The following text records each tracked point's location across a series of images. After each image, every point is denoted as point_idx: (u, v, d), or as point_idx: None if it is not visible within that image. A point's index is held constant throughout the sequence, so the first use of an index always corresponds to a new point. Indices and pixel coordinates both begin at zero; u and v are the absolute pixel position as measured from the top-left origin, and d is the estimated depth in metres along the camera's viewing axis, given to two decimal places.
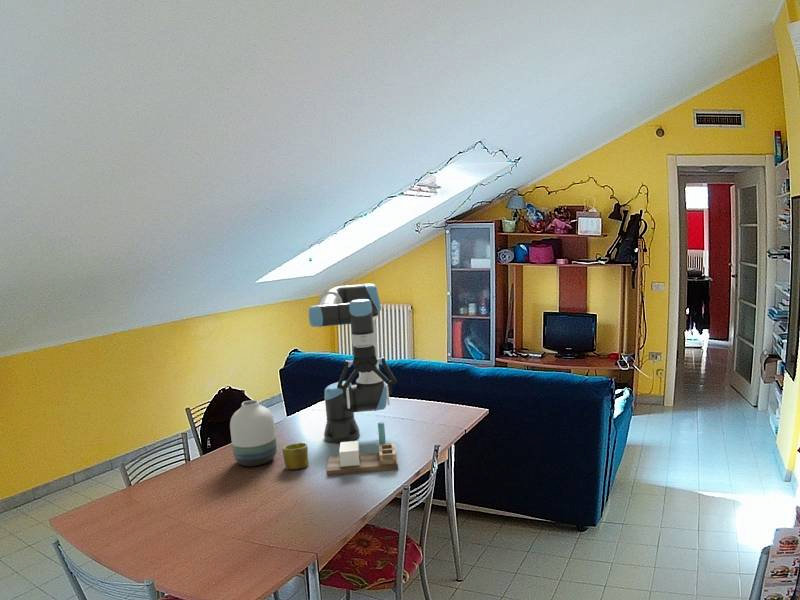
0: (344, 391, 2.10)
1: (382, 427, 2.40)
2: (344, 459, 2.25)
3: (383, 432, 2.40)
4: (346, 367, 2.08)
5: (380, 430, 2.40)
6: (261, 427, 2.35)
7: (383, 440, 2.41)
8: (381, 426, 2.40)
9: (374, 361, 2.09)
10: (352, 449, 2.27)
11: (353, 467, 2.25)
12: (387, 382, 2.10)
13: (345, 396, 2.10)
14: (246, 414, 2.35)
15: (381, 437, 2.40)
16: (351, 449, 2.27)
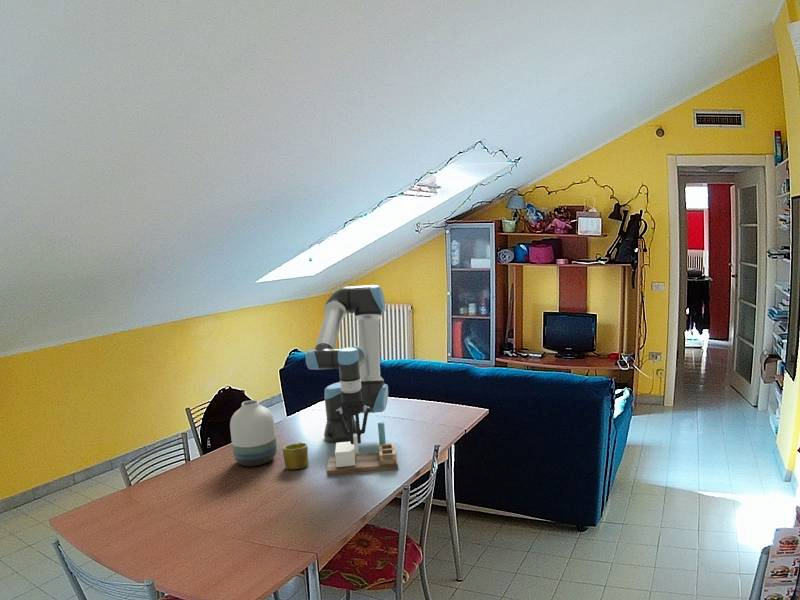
0: (351, 437, 2.27)
1: (382, 427, 2.40)
2: (340, 459, 2.25)
3: (383, 432, 2.40)
4: (339, 415, 2.25)
5: (380, 430, 2.40)
6: (261, 427, 2.35)
7: (383, 440, 2.41)
8: (381, 426, 2.40)
9: (361, 405, 2.25)
10: (347, 449, 2.27)
11: (353, 467, 2.25)
12: (358, 431, 2.26)
13: (352, 442, 2.27)
14: (246, 414, 2.35)
15: (381, 437, 2.40)
16: (347, 449, 2.27)
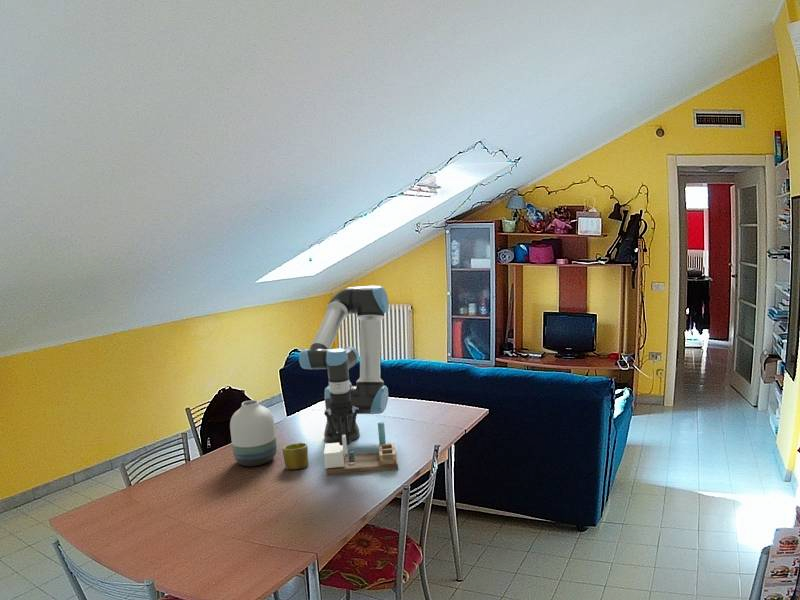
0: (340, 438, 2.27)
1: (382, 427, 2.40)
2: (328, 460, 2.25)
3: (383, 432, 2.40)
4: (328, 416, 2.25)
5: (380, 430, 2.40)
6: (261, 427, 2.35)
7: (383, 440, 2.41)
8: (381, 426, 2.40)
9: (350, 406, 2.25)
10: (336, 450, 2.27)
11: (353, 467, 2.25)
12: (346, 432, 2.26)
13: (341, 443, 2.27)
14: (246, 414, 2.35)
15: (381, 437, 2.40)
16: (336, 450, 2.27)
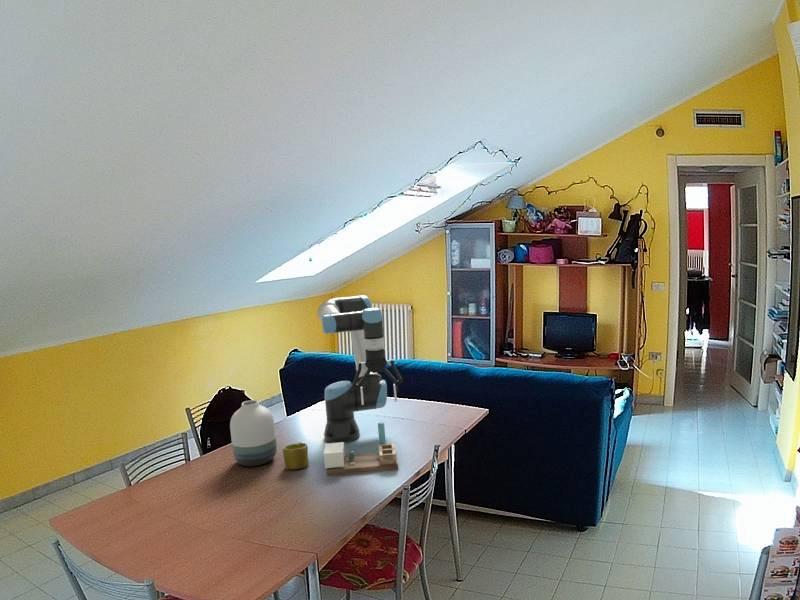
0: (358, 389, 2.38)
1: (382, 427, 2.40)
2: (328, 460, 2.25)
3: (383, 432, 2.40)
4: (359, 368, 2.36)
5: (380, 430, 2.40)
6: (261, 427, 2.35)
7: (383, 440, 2.41)
8: (381, 426, 2.40)
9: (384, 362, 2.37)
10: (336, 450, 2.27)
11: (353, 467, 2.25)
12: (395, 382, 2.38)
13: (359, 394, 2.38)
14: (246, 414, 2.35)
15: (381, 437, 2.40)
16: (336, 450, 2.27)
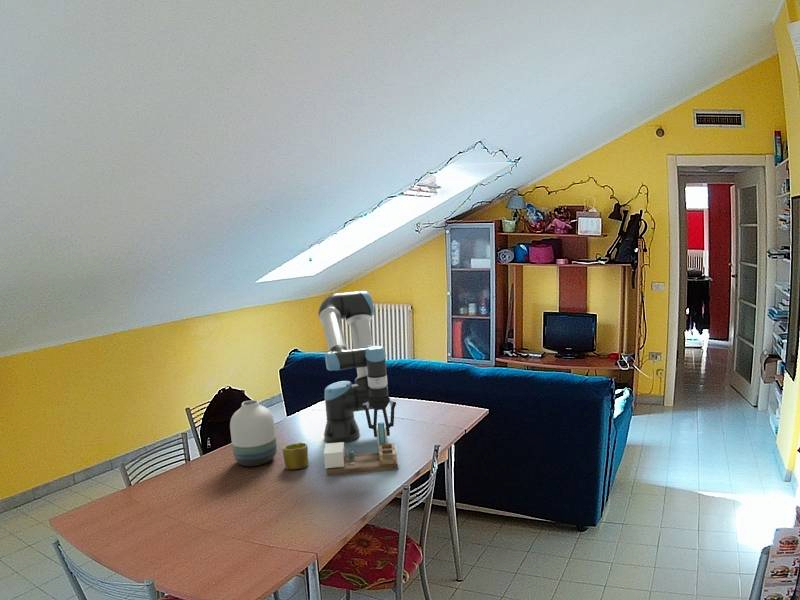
0: (374, 430, 2.40)
1: (382, 427, 2.40)
2: (328, 460, 2.25)
3: (383, 432, 2.40)
4: (366, 409, 2.39)
5: (380, 430, 2.40)
6: (261, 427, 2.35)
7: (383, 440, 2.41)
8: (381, 426, 2.40)
9: (387, 400, 2.39)
10: (336, 450, 2.27)
11: (353, 467, 2.25)
12: (386, 424, 2.40)
13: (375, 435, 2.41)
14: (246, 414, 2.35)
15: (381, 437, 2.40)
16: (336, 450, 2.27)
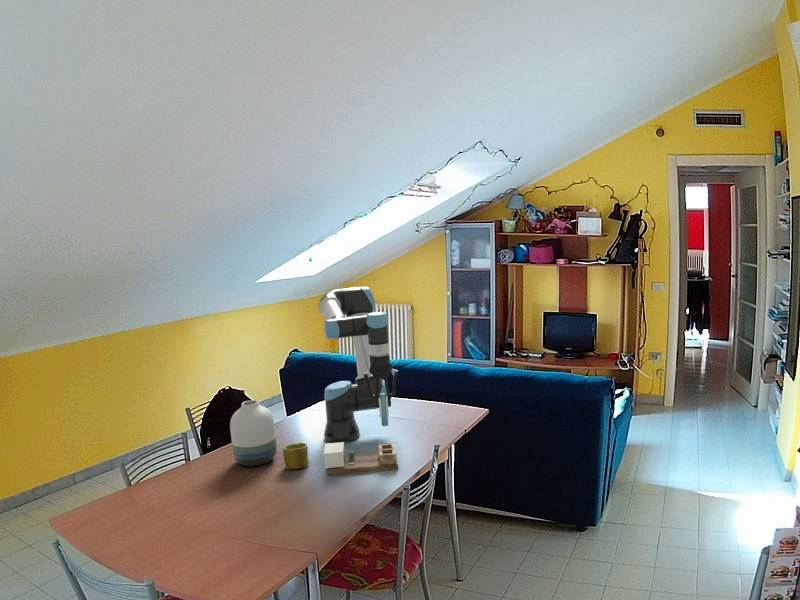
0: (377, 401, 2.30)
1: (384, 398, 2.30)
2: (328, 460, 2.25)
3: (385, 403, 2.30)
4: (367, 378, 2.28)
5: (382, 401, 2.30)
6: (261, 427, 2.35)
7: (385, 412, 2.30)
8: (383, 397, 2.30)
9: (389, 369, 2.28)
10: (336, 450, 2.27)
11: (353, 467, 2.25)
12: (388, 394, 2.30)
13: (377, 405, 2.30)
14: (246, 414, 2.35)
15: (383, 409, 2.30)
16: (336, 450, 2.27)
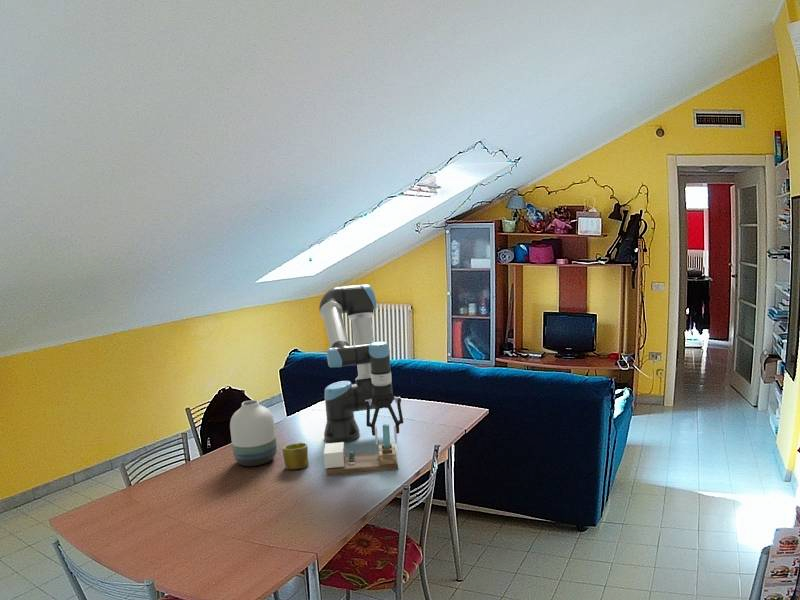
0: (373, 429, 2.31)
1: (387, 429, 2.31)
2: (328, 460, 2.25)
3: (388, 434, 2.32)
4: (368, 406, 2.30)
5: (385, 432, 2.31)
6: (261, 427, 2.35)
7: (387, 443, 2.32)
8: (386, 428, 2.31)
9: (391, 398, 2.30)
10: (336, 450, 2.27)
11: (353, 467, 2.25)
12: (395, 421, 2.31)
13: (373, 433, 2.32)
14: (246, 414, 2.35)
15: (386, 440, 2.32)
16: (336, 450, 2.27)
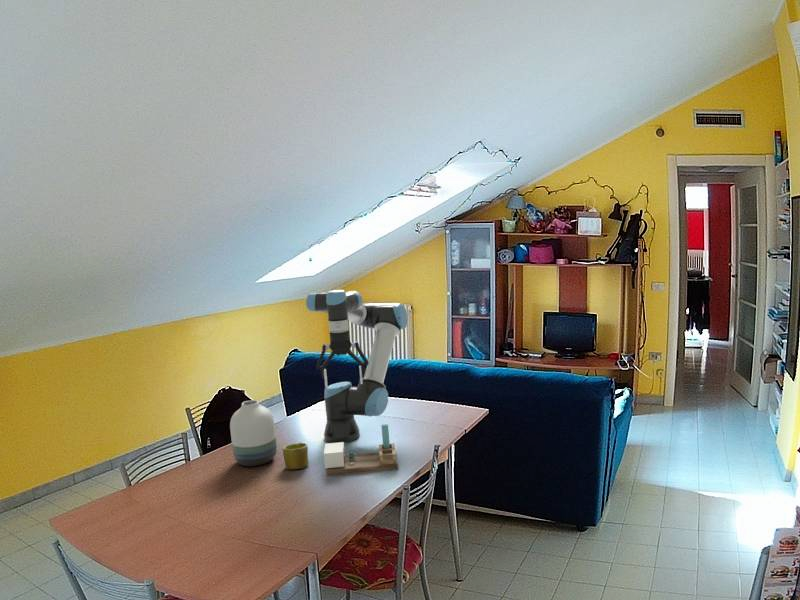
0: (322, 372, 2.36)
1: (386, 429, 2.32)
2: (328, 460, 2.25)
3: (387, 434, 2.32)
4: (323, 350, 2.35)
5: (384, 432, 2.32)
6: (261, 427, 2.35)
7: (387, 443, 2.32)
8: (385, 428, 2.31)
9: (348, 345, 2.35)
10: (336, 450, 2.27)
11: (353, 467, 2.25)
12: (360, 364, 2.36)
13: (323, 376, 2.36)
14: (246, 414, 2.35)
15: (385, 440, 2.32)
16: (336, 450, 2.27)
